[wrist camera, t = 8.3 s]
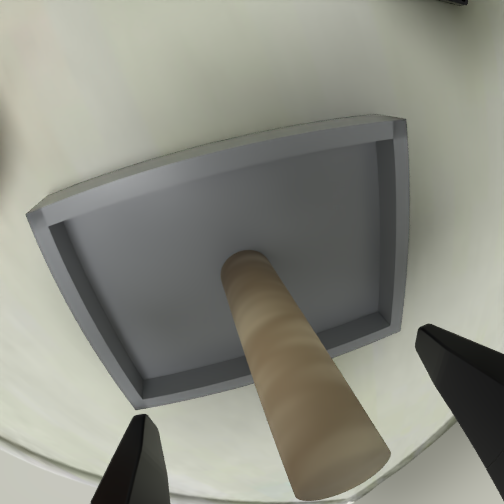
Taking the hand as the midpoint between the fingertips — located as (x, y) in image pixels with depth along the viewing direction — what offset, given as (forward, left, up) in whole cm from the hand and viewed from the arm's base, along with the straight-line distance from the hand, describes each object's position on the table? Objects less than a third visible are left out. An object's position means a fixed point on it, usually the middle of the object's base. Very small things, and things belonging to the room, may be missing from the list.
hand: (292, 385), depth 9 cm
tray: (0, 0, -8) cm, 8 cm away
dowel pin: (0, 0, -7) cm, 7 cm away
